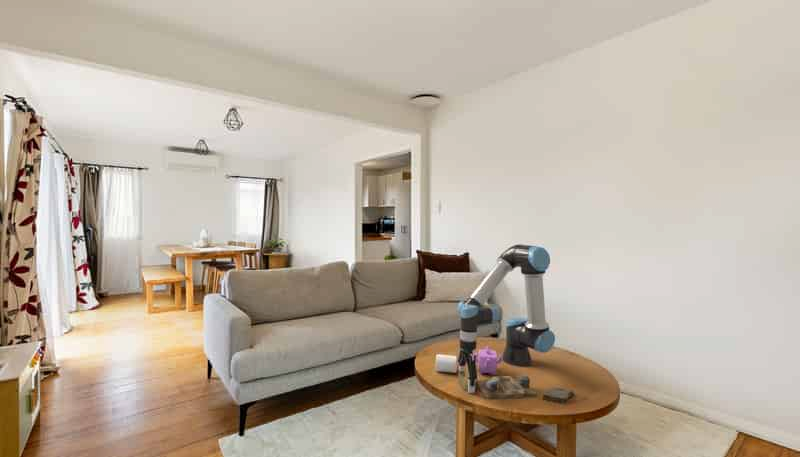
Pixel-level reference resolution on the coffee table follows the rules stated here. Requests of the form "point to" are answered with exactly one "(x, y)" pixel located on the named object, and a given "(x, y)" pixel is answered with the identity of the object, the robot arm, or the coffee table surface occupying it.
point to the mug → (446, 363)
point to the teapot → (487, 361)
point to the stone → (558, 395)
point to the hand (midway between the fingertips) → (466, 386)
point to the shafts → (493, 383)
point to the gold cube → (463, 379)
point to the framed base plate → (505, 389)
